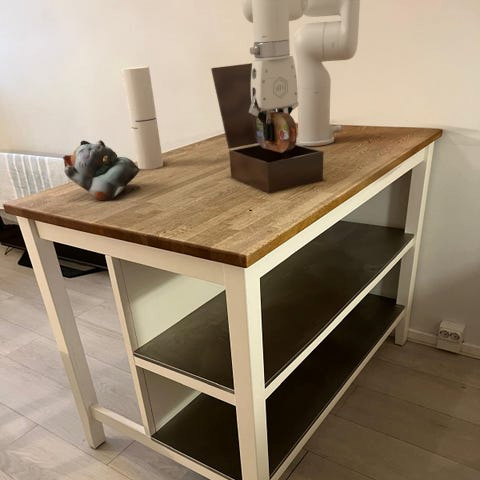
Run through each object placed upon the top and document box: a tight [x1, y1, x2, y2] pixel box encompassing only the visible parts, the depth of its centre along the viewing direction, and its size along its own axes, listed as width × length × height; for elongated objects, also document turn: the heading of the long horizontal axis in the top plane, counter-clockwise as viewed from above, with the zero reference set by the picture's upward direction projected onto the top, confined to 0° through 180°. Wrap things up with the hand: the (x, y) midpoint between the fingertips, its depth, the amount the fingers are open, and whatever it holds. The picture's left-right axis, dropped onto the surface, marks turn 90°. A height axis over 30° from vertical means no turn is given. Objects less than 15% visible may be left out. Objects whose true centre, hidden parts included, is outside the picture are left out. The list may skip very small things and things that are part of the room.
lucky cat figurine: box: [62, 139, 141, 202], centre depth 115 cm, size 15×12×14 cm
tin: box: [254, 111, 298, 153], centre depth 113 cm, size 15×3×8 cm, turn 29°
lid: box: [210, 62, 277, 150], centre depth 119 cm, size 18×15×1 cm
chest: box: [228, 144, 325, 194], centre depth 117 cm, size 18×15×7 cm
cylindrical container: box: [120, 65, 164, 170], centre depth 132 cm, size 7×7×25 cm
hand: (275, 138), depth 114 cm, fingers closed on tin, 2 cm apart
